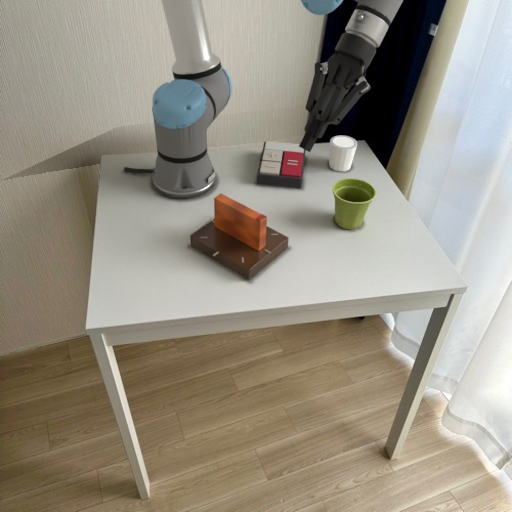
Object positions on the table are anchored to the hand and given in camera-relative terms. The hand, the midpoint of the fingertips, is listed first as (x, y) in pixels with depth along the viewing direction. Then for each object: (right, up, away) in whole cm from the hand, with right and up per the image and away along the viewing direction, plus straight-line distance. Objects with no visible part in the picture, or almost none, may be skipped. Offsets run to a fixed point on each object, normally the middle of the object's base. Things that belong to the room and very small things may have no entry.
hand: (304, 149), depth 108 cm
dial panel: (-14, -20, +3) cm, 24 cm away
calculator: (-3, 0, +26) cm, 26 cm away
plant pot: (+11, -14, +11) cm, 21 cm away
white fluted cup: (+12, +1, +28) cm, 31 cm away
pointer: (-13, -18, +1) cm, 22 cm away
